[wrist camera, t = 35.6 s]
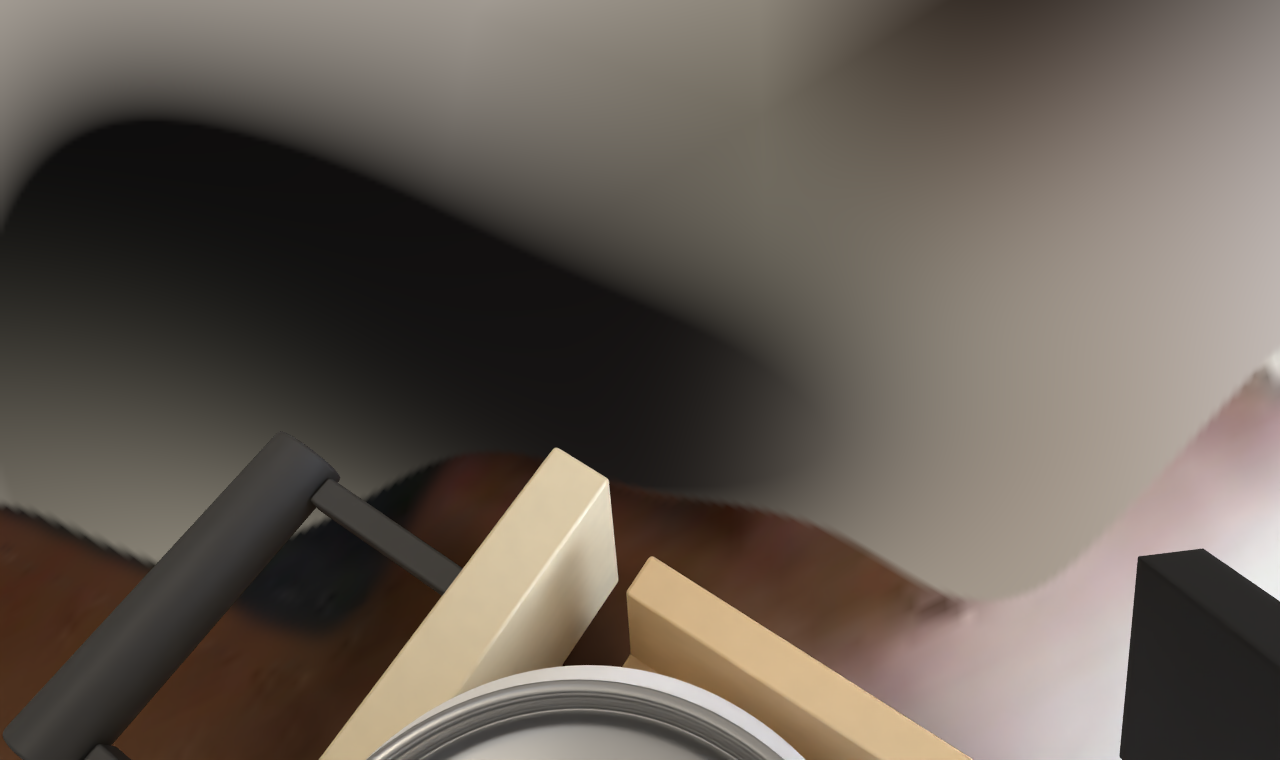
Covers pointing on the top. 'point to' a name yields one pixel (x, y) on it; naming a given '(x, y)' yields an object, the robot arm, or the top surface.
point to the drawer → (454, 621)
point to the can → (586, 721)
